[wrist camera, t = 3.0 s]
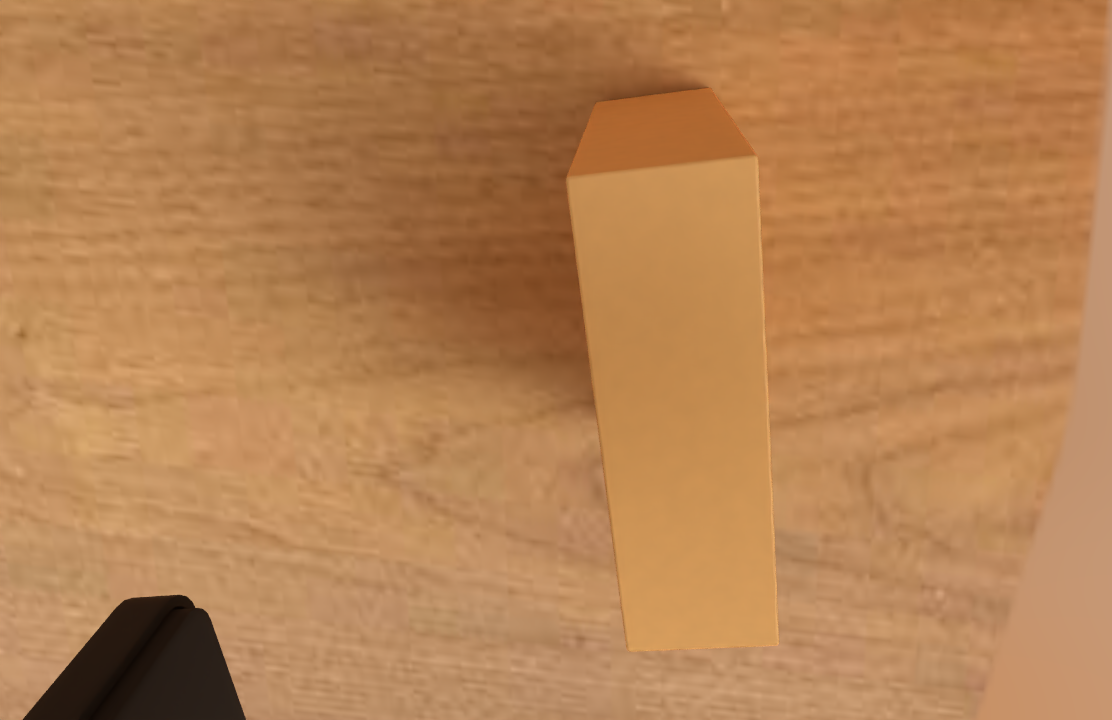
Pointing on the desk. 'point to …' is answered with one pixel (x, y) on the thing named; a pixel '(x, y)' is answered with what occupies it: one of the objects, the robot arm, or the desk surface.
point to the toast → (679, 366)
